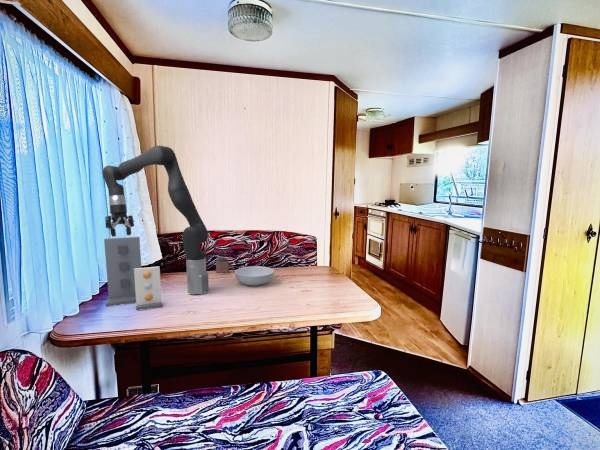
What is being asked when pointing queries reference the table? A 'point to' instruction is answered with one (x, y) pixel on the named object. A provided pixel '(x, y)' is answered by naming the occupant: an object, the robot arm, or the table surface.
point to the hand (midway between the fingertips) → (121, 235)
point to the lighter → (222, 265)
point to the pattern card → (147, 287)
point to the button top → (122, 249)
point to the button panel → (115, 275)
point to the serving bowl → (254, 275)
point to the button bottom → (125, 283)
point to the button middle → (123, 266)
